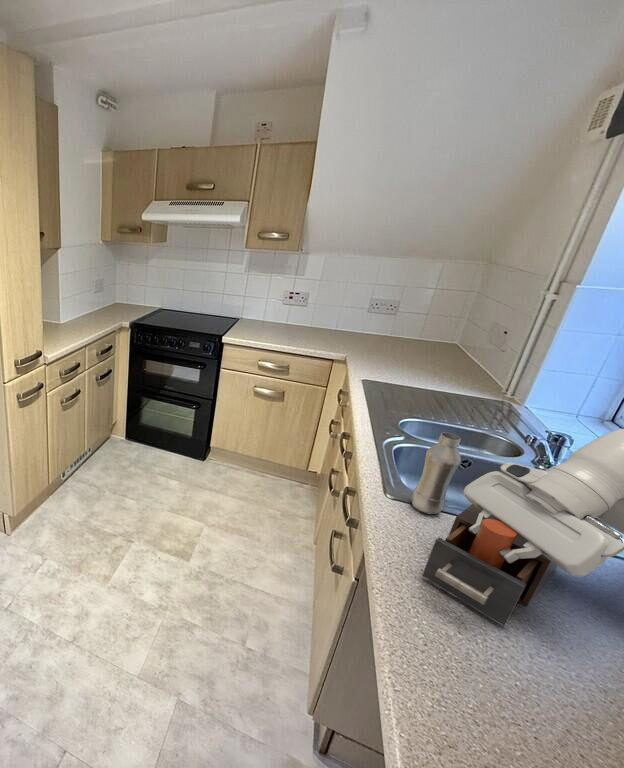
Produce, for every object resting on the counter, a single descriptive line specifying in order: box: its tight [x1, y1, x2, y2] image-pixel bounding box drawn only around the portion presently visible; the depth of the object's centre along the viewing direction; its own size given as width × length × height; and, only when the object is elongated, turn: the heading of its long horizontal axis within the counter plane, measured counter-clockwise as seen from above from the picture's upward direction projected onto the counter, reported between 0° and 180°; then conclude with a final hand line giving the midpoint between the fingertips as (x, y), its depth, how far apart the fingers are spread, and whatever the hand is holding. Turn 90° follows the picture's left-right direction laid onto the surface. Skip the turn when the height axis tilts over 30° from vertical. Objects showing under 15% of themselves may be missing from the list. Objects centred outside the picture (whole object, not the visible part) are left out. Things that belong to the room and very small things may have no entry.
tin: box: [469, 519, 517, 570], centre depth 74 cm, size 5×5×9 cm
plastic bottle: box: [410, 432, 462, 515], centre depth 96 cm, size 6×7×20 cm
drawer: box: [421, 524, 542, 627], centre depth 75 cm, size 20×12×9 cm, turn 122°
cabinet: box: [448, 503, 558, 608], centre depth 82 cm, size 17×14×11 cm
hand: (487, 545), depth 74 cm, fingers closed on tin, 4 cm apart
